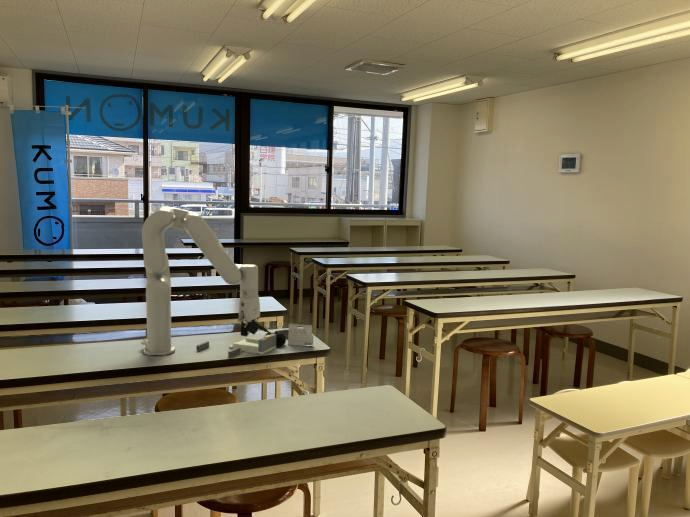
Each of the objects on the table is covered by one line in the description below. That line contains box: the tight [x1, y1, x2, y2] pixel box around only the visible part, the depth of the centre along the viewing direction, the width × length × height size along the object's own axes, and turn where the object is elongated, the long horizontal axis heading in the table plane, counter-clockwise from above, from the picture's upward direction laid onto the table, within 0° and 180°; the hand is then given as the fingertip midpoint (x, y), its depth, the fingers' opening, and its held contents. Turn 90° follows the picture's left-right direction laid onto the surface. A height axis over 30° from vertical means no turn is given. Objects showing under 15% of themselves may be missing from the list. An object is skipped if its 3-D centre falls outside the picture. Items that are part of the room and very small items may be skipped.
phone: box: [274, 329, 289, 340], centre depth 270 cm, size 8×1×15 cm
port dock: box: [228, 334, 277, 355], centre depth 249 cm, size 17×11×6 cm, turn 66°
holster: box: [195, 341, 242, 358], centre depth 242 cm, size 17×7×2 cm, turn 66°
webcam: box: [264, 332, 287, 349], centre depth 254 cm, size 9×6×6 cm
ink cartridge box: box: [287, 323, 314, 346], centre depth 255 cm, size 2×11×10 cm, turn 78°
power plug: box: [245, 320, 273, 338], centre depth 250 cm, size 6×8×12 cm
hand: (248, 333), depth 249 cm, fingers closed on power plug, 6 cm apart
